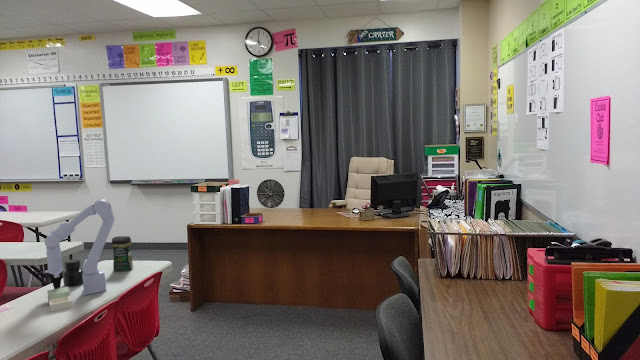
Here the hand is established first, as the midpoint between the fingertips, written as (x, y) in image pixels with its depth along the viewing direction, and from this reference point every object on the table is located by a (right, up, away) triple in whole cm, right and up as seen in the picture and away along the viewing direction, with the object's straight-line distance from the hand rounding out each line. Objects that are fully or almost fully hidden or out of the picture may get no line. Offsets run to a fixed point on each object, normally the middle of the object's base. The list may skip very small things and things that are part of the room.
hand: (57, 288), depth 204 cm
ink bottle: (-2, -2, +18) cm, 18 cm away
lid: (+4, -1, -6) cm, 8 cm away
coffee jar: (+12, 0, +41) cm, 43 cm away
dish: (+9, -5, -12) cm, 16 cm away
